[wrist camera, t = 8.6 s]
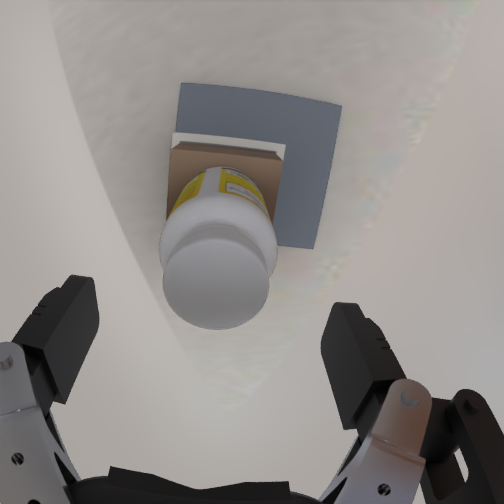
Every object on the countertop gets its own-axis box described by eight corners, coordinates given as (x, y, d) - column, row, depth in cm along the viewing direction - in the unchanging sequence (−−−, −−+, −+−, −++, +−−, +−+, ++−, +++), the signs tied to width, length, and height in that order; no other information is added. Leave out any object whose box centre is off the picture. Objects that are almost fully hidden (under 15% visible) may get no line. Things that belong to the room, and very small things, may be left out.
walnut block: (180, 142, 22) (170, 148, 19) (275, 152, 23) (283, 161, 19) (174, 229, 25) (165, 251, 22) (261, 238, 26) (266, 261, 22)
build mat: (180, 83, 21) (178, 82, 20) (337, 105, 23) (342, 106, 22) (168, 231, 26) (165, 237, 25) (310, 246, 28) (313, 252, 27)
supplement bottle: (186, 248, 22) (160, 346, 13) (174, 170, 19) (126, 226, 10) (266, 241, 22) (289, 337, 13) (261, 161, 19) (285, 209, 11)
